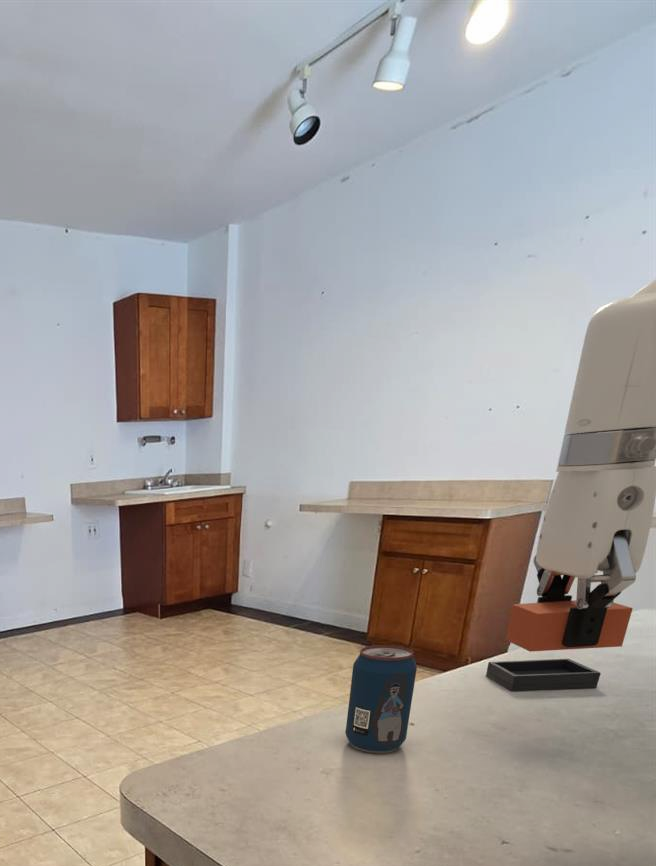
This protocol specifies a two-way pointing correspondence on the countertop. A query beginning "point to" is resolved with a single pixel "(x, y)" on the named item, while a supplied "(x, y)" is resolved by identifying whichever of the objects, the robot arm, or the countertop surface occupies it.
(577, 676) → the black rectangular tray
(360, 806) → the countertop surface
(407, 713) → the soda can
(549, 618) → the red brick
